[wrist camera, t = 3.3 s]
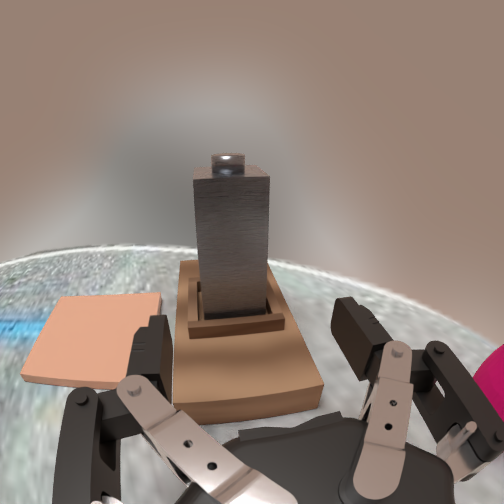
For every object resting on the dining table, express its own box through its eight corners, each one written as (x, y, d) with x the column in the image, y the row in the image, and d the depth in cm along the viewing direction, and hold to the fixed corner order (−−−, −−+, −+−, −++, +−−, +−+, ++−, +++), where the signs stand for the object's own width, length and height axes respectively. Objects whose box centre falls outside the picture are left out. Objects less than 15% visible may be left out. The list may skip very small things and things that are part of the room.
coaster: (151, 389, 20) (148, 382, 20) (24, 381, 18) (19, 373, 18) (161, 299, 32) (160, 292, 31) (63, 303, 30) (61, 296, 29)
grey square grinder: (265, 322, 24) (270, 158, 18) (205, 327, 23) (192, 161, 18) (254, 290, 28) (255, 151, 23) (203, 294, 28) (193, 153, 22)
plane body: (317, 408, 19) (332, 353, 16) (180, 425, 17) (163, 373, 15) (263, 276, 37) (264, 232, 34) (183, 282, 35) (178, 237, 33)
